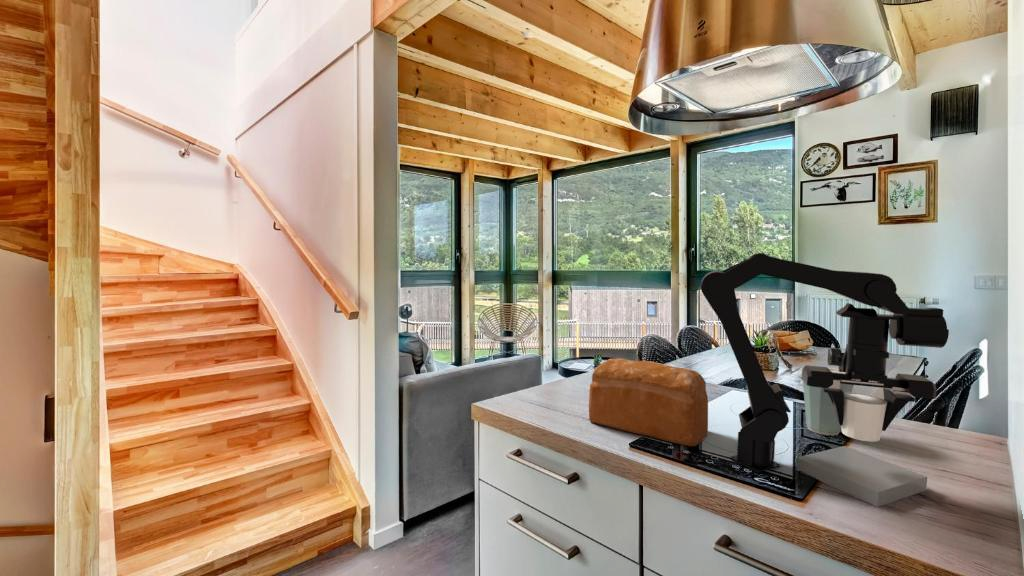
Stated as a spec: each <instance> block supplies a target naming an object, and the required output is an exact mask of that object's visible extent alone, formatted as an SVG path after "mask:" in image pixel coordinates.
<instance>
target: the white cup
mask: <svg viewBox="0 0 1024 576" xmlns="http://www.w3.org/2000/svg"><path fill="white" fill-rule="evenodd" d="M886 407H887V401H886V400H884V398H882V397H878V396H874V395H870V394H865V393H857V392H852V393H844V418H843V424H842V425H841V426H842V428H841V433H842V434H843V435H844V436H846V437H848V438H851V439H854V440H858V441H862V442H863V441H864V442H872V443H873V442H879V441H880V440H881V436H882V432H883V431H882V427H883V422H884V417H885V412H886Z"/></svg>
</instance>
